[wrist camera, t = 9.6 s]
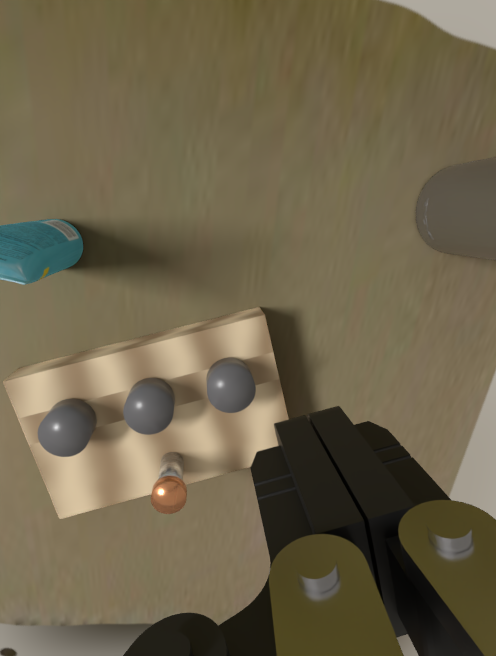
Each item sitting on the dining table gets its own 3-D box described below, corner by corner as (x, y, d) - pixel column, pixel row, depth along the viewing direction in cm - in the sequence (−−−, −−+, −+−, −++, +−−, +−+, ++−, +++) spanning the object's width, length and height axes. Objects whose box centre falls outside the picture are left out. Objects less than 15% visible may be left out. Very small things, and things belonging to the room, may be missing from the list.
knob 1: (96, 379, 46) (80, 406, 40) (110, 417, 48) (96, 449, 41) (53, 390, 46) (30, 419, 40) (68, 428, 47) (47, 462, 41)
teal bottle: (18, 262, 43) (-117, 296, 25) (20, 212, 42) (-118, 208, 23) (95, 274, 44) (23, 315, 26) (100, 226, 43) (28, 232, 25)
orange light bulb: (182, 444, 45) (181, 479, 39) (191, 471, 46) (190, 508, 40) (153, 453, 45) (146, 488, 39) (161, 479, 46) (156, 517, 40)
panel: (259, 306, 47) (264, 314, 43) (289, 436, 51) (296, 454, 47) (19, 367, 46) (2, 381, 42) (70, 495, 50) (59, 519, 46)
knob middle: (170, 360, 47) (165, 383, 40) (181, 398, 48) (179, 427, 41) (128, 371, 47) (116, 396, 40) (140, 409, 48) (131, 440, 41)
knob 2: (242, 342, 47) (249, 362, 41) (251, 380, 48) (260, 406, 42) (200, 352, 47) (201, 374, 40) (211, 391, 48) (213, 418, 42)
